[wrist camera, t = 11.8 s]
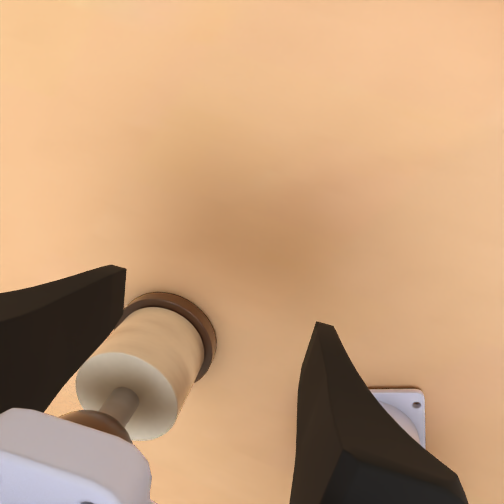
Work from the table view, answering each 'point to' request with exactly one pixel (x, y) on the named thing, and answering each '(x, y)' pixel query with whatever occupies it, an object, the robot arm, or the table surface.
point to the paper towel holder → (145, 368)
